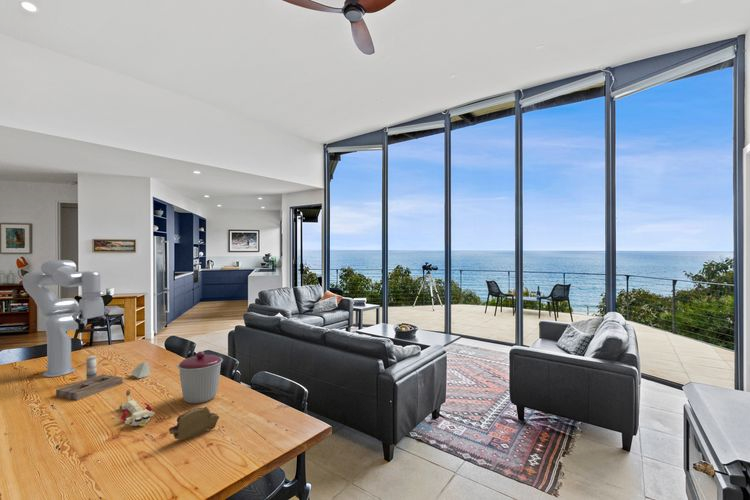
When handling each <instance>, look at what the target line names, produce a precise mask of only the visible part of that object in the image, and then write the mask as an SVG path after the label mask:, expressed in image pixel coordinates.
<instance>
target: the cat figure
mask: <svg viewBox="0 0 750 500" xmlns="http://www.w3.org/2000/svg"><path fill="white" fill-rule="evenodd" d="M130 394H131V390H130V389H127V390H126V394H125V395H126V400H127V401H126V402H124V401H123V402H121V403H120V406H118V407H119V408H118V409H120V410H123V412H122V415H121V416H120V419H121V421H123V422H124V424H126V425H130V426H131V427H132V426H135V427H136V426H140V427H144V426H146V424H148V422H150V421H151V417H153V416H155V411H153V408H152V407H151V406H150V404H149V403H147V402H141V404H143V405H144V406H146V407H145V409H143V408H142V407H141V405H140V404H139V403H138V401H135V399H131V395H130ZM127 411H129V412H130V413H131V416H129V417H127V416H128V412H127Z"/></svg>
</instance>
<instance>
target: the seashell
mask: <svg viewBox="0 0 750 500" xmlns="http://www.w3.org/2000/svg"><path fill="white" fill-rule="evenodd" d="M131 374H132V375H133V376H134V377H135V378H137V379H141V378H142V379H143V378H145V377H149V376H150V366H149V364H148V363H147V362H141V363H139V364H138V365H137V366H135V368H134V369H133V370H132V371H131Z"/></svg>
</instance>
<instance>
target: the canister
mask: <svg viewBox="0 0 750 500" xmlns="http://www.w3.org/2000/svg"><path fill="white" fill-rule="evenodd" d="M223 361H224V359H223V358H222V357H221V356H218V355H215V354H206V353H205V352H204V351H198V352H197V353H196V354H195V355H193V356H191V357H187V358H185V359H183V360H182V361H179V363H178V364H177V366H176V367H177V368H178V370H179V378H180V385H181V392H182V397H183V400H184V401H185V402H186V403H189V404H202V403H205V402H208V401H211V400H212V399H214V398H215V397H216V395H217V393H218V389H219V383H220V375H221V365H222V362H223Z"/></svg>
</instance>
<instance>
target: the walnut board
mask: <svg viewBox="0 0 750 500" xmlns="http://www.w3.org/2000/svg"><path fill="white" fill-rule="evenodd" d="M122 384H123V377H121V376H116V375H115V376H114V375H111V374H110V375H109V374H99V375H97V376H96V377H93V378H90V379H87V380H86V379H84V380H82V381H78V382H75V383H72V384H70V385H66V386H63V387H60V388H57V389H55V396H56V397H58V398H64V399H68V400H71V401H72V400H73V401H79V400H82V399H84V398H85V399H86V398H87V397H90V396H92V395H95V394H98V393H101V392H104V391H106V390H110V389H112V388H113V387H114V388H115V387H117V386H119V385H122Z"/></svg>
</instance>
